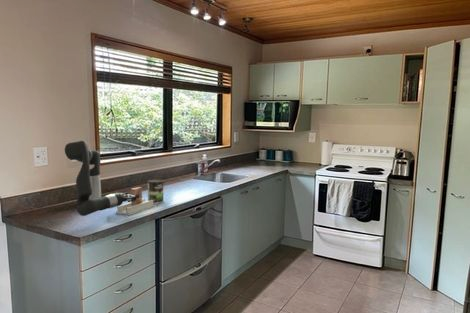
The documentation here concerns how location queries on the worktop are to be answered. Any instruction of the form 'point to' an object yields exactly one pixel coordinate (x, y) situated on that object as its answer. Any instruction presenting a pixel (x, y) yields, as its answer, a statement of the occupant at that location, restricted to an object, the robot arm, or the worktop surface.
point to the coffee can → (155, 190)
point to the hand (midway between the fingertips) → (133, 194)
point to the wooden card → (134, 192)
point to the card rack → (134, 207)
